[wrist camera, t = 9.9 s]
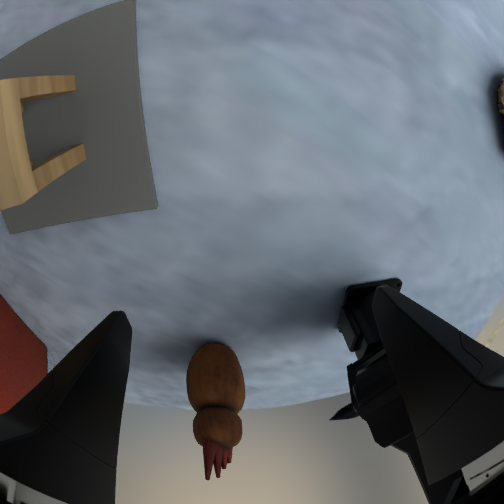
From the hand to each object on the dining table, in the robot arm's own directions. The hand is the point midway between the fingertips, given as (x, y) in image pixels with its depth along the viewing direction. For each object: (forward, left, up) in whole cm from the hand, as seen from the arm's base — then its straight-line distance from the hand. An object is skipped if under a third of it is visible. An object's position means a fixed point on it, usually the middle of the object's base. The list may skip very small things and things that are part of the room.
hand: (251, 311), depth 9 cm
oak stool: (+14, -7, -12) cm, 20 cm away
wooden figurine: (+4, +19, -13) cm, 23 cm away
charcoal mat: (+14, -7, -13) cm, 20 cm away
